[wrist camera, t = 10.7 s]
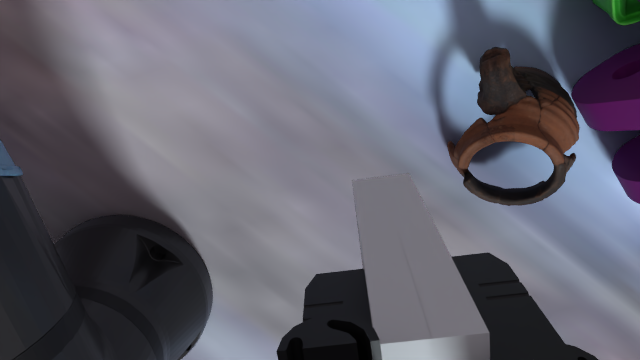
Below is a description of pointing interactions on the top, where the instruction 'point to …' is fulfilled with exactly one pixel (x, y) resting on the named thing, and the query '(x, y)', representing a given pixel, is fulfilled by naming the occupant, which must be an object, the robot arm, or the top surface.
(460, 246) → the top surface
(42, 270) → the robot arm
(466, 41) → the top surface
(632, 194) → the mounting bracket
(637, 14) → the fruit basket
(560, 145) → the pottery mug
